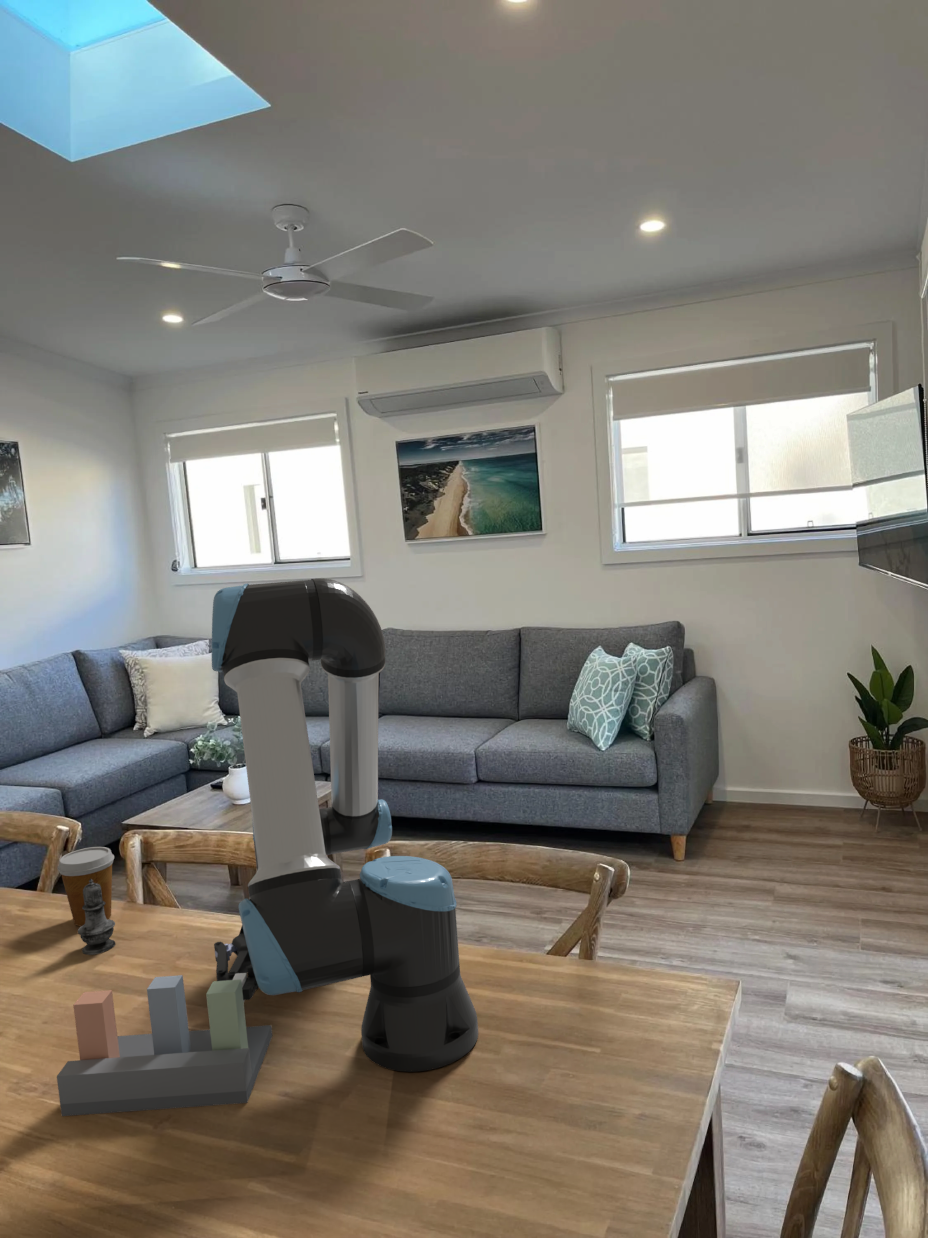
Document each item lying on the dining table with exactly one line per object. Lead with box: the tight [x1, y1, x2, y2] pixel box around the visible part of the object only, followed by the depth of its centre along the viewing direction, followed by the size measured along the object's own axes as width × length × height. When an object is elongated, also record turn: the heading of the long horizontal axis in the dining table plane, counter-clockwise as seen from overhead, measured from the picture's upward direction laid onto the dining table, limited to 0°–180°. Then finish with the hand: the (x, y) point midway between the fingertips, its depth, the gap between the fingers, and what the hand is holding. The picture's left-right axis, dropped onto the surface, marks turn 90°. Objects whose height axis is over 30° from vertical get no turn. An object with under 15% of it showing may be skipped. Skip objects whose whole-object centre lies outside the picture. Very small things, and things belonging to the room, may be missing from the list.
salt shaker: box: [77, 879, 116, 956], centre depth 149 cm, size 6×6×12 cm
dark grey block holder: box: [56, 1024, 274, 1117], centre depth 111 cm, size 22×14×5 cm, turn 90°
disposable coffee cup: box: [56, 846, 115, 927], centre depth 161 cm, size 10×10×12 cm
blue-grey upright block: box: [146, 974, 191, 1055], centre depth 111 cm, size 4×3×10 cm
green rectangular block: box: [205, 979, 248, 1051], centre depth 109 cm, size 4×3×10 cm
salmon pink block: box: [73, 989, 120, 1060], centre depth 109 cm, size 4×3×10 cm
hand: (229, 1009), depth 111 cm, fingers closed
